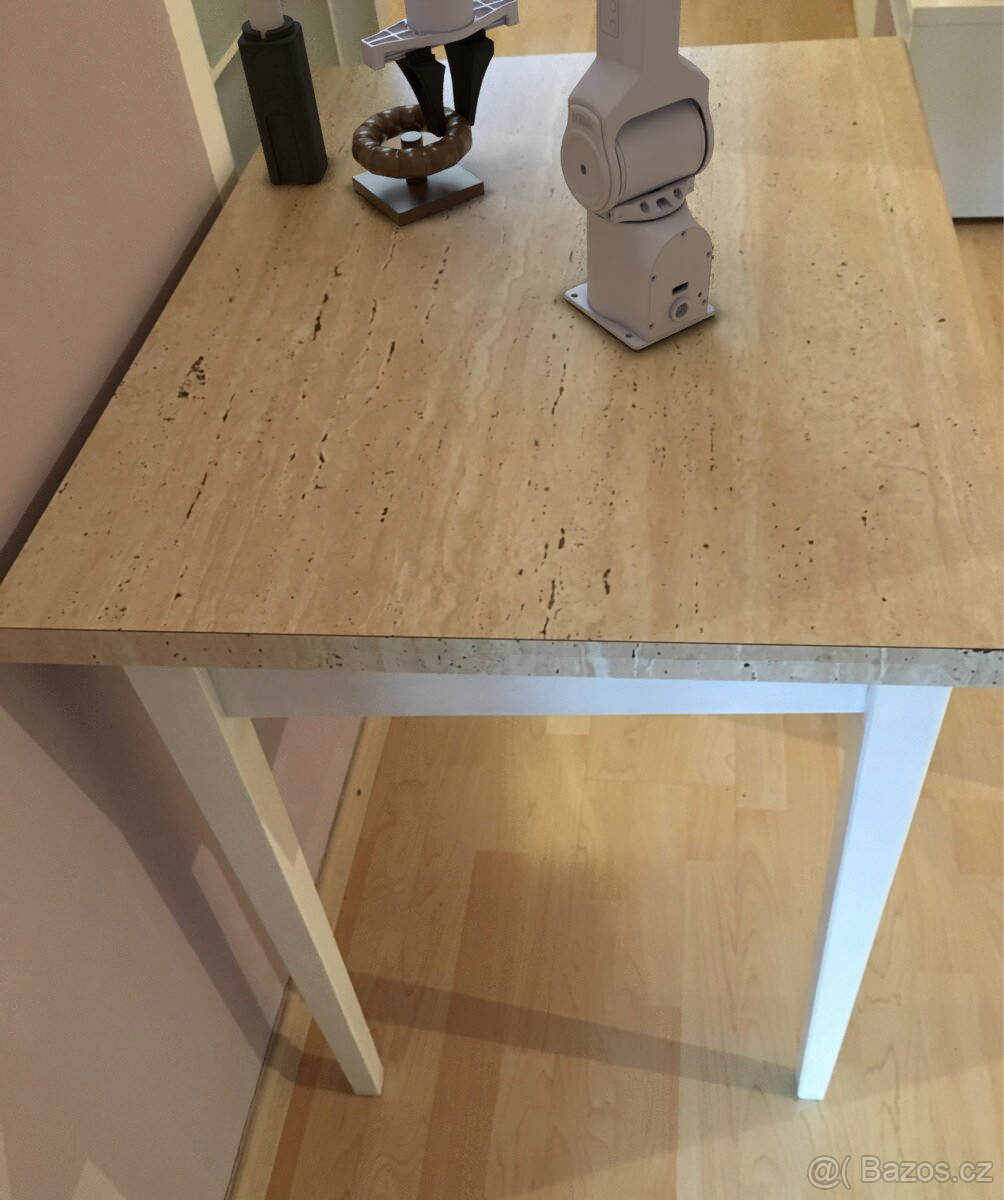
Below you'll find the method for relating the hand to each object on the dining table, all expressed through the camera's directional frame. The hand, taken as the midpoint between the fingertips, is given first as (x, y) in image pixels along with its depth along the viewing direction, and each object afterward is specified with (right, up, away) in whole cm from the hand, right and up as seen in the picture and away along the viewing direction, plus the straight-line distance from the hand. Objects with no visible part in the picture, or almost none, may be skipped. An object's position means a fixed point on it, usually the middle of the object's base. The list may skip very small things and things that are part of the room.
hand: (451, 127), depth 96 cm
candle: (-15, -2, +6) cm, 16 cm away
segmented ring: (-4, -2, -1) cm, 4 cm away
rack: (-3, -5, +2) cm, 6 cm away
